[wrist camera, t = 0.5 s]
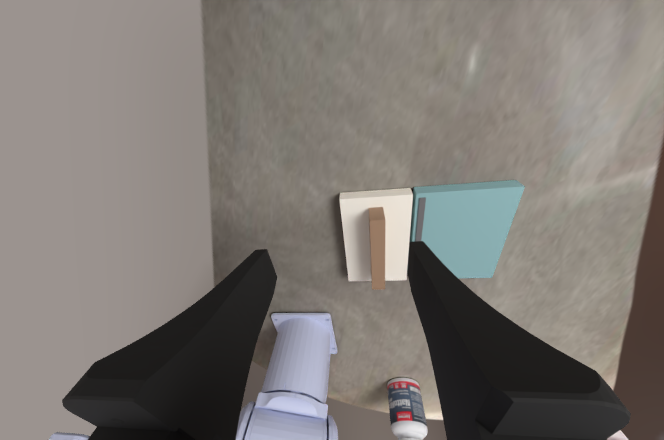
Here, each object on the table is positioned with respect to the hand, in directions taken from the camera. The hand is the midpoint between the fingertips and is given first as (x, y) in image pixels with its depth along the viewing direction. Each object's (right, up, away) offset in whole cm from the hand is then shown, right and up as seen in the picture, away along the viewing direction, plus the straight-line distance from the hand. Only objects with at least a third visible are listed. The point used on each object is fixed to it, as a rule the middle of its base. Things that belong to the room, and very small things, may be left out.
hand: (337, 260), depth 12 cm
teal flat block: (+11, +1, +10) cm, 15 cm away
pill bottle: (+12, -26, +28) cm, 40 cm away
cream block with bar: (+4, +1, +11) cm, 12 cm away
